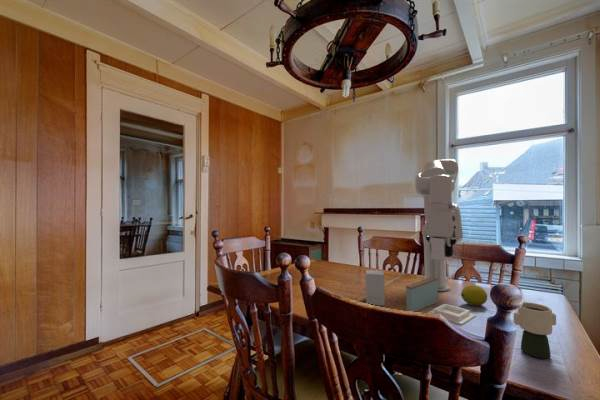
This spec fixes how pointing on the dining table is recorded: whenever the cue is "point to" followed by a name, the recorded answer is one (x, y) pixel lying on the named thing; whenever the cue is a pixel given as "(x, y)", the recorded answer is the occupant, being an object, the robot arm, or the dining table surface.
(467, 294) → the lemon
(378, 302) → the supplement box
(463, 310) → the cradle
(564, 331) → the dining table surface
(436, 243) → the block
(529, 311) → the character mug
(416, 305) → the door board
